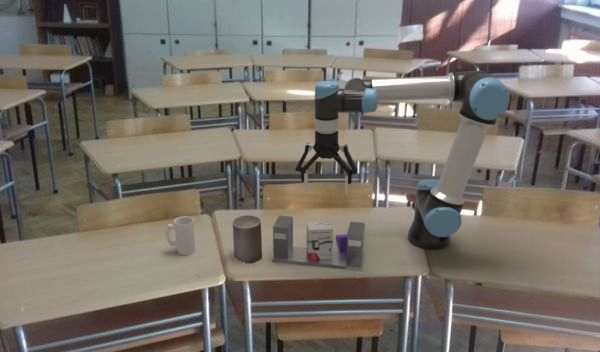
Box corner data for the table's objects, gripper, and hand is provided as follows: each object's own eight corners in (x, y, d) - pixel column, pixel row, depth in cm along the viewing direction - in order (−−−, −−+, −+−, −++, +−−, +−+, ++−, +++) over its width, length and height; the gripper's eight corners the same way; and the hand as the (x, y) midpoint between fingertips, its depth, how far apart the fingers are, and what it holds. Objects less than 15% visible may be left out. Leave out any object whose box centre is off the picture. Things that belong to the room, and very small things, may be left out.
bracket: (359, 254, 202) (360, 237, 199) (339, 254, 202) (340, 237, 199) (354, 238, 213) (355, 221, 211) (336, 238, 213) (336, 222, 210)
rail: (364, 256, 200) (366, 222, 195) (362, 271, 191) (364, 235, 186) (278, 248, 205) (277, 214, 200) (271, 261, 196) (271, 227, 191)
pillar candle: (260, 248, 205) (259, 210, 199) (263, 262, 196) (262, 222, 190) (233, 251, 203) (231, 213, 198) (235, 265, 194) (232, 225, 189)
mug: (195, 245, 207) (193, 215, 202) (196, 254, 201) (194, 223, 196) (167, 248, 205) (164, 217, 201) (167, 257, 199) (164, 226, 194)
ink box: (307, 260, 195) (307, 229, 191) (306, 253, 200) (306, 222, 195) (332, 259, 196) (333, 228, 191) (330, 252, 200) (331, 221, 196)
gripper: (366, 128, 185) (364, 189, 192) (290, 125, 189) (291, 185, 196) (365, 135, 178) (363, 198, 186) (286, 132, 182) (287, 193, 190)
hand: (326, 191), depth 191 cm, fingers open, 13 cm apart
